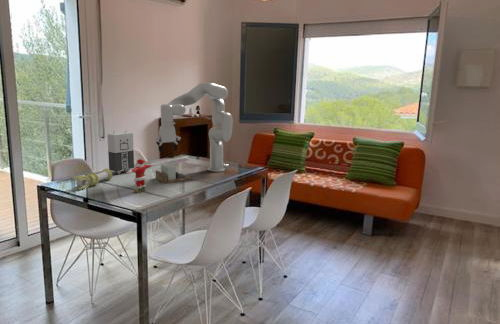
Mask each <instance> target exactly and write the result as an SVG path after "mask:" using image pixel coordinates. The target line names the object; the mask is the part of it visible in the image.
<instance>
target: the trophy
mask: <svg viewBox="0 0 500 324" xmlns="http://www.w3.org/2000/svg"><path fill="white" fill-rule="evenodd" d="M112 178H113V171H112V170H109V168H104V169H103V170H102V171H101V172H98V173H96V172H89V173H88V174H86V175H84V176H83V175H76V176H73V177H72V179H73V181H76V183H75V184H76V186H74V190H75V189H78V188H80V189H79V190H82V189H84V188H87V189H88V188H89V187H92V186H97V185H98V184H99V182H100V181H103V180H104V181H110V180H112Z"/></svg>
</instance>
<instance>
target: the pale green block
mask: <svg viewBox="0 0 500 324" xmlns="http://www.w3.org/2000/svg"><path fill="white" fill-rule="evenodd" d="M160 169H161V171H160V172H161V173H163V174H165V175H167V180H172V179H176V172H177V171H176V165H172V164H171V163H162V164H160Z"/></svg>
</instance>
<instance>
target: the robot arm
mask: <svg viewBox="0 0 500 324" xmlns="http://www.w3.org/2000/svg"><path fill="white" fill-rule="evenodd" d="M228 95H229V90H228V89H227V87H225V86H223V85H220V84H217V83H213V82H201V83H198V84H197V85H196V86H194V87H193V88H192V89H190V90H189V91H188V92H186V93H183V94H181V95H179V96H177V97H174V99H172V100H170V101H169V102H168V103H167V104H166V103H165V104H161V105H160V123H161V125H160V126H159V131H158V136H157V137H155V138H154V139H153V140H154V142H155V144H157V146H158V151H159V152H160V153H163V144H164V143H165V144H166V143H173V151H176V152H177V150H178V144H179V143H180V142H181V139H182V137H181V136H179V135H177V133H176V128H175V126H174V125H176V121H174V116H177V117H181V116H184V115H185V113H186V112H187V111H186V106H191V105H195V104H196V103H197V102H199V101H200V100H201V99H202V98H204V97H205V96H207V97H208V98H209V99H210V101H211V103H212V115H211V116H212V117H211V122H212V124H214V125H215V126H213V127H211V128H210V129H208V130H209V131H208V138H209V167H208V168H207V171H209V172H213V173H214V172H216V173H217V172H220V173H221V172H224V171H226V168H228V167H230V165H229V164H227V163H224V144H223V142H228V141H230V140H231V138H232V134H233V125H234V119H233V116H232V114H231V113H229V112H226V111H225V110H226V109H225V108H226V104H225V103H226V102H225V101H224V99H226V98H228Z"/></svg>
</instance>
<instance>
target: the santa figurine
mask: <svg viewBox="0 0 500 324" xmlns="http://www.w3.org/2000/svg"><path fill="white" fill-rule="evenodd" d="M144 163H145V164H144ZM147 163H148V162H146V161H145V160H144V159H141V158H140V159H139V158H138V159H137V160H136V163H135V166H134V168H131V169H130V170H129V171H128V172H127V171H125V174H133V173H134V174H135V177H134V179H133V182H135V185H136V187H137V188H136V189H134V190H133V193H135V194H141V193H142V192H145V191H146V183H145V182H146V181H145V180H147V175H145V172H146V169H149V168H152V167H153V166H155V164H151V163H150V164H147Z"/></svg>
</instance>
